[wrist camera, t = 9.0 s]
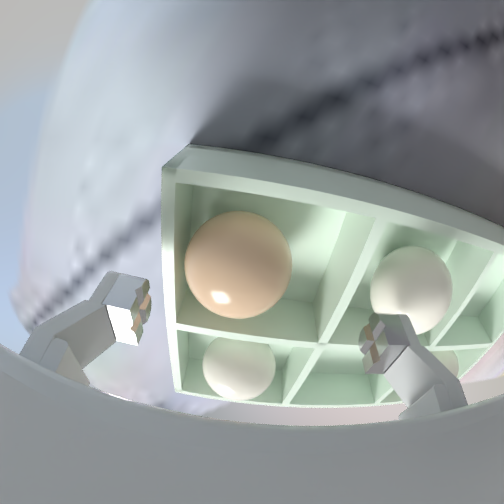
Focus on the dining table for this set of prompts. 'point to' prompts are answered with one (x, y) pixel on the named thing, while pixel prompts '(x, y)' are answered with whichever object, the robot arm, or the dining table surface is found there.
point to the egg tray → (321, 272)
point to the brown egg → (238, 264)
